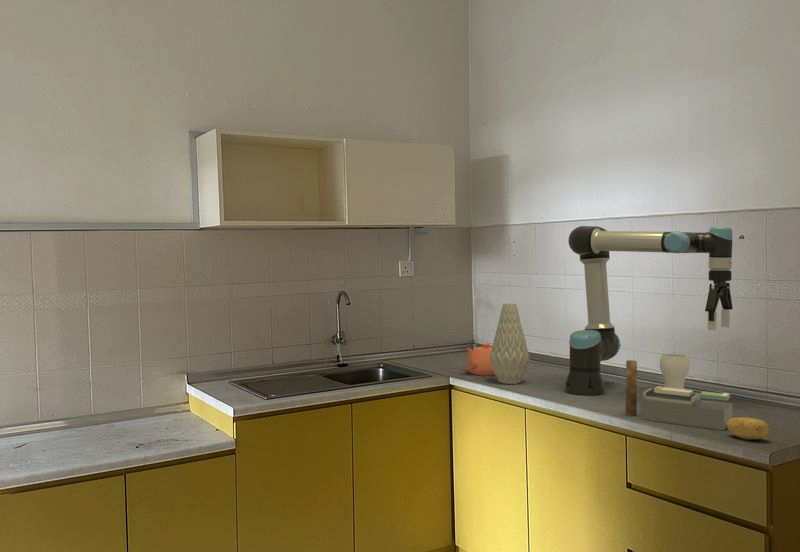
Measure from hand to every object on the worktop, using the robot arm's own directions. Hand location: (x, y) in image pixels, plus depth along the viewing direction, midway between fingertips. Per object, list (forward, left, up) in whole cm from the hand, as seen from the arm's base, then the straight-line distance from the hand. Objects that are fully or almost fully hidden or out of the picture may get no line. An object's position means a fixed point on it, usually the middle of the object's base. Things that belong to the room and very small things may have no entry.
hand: (718, 328), depth 255 cm
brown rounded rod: (-19, -38, -27) cm, 50 cm away
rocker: (-6, -36, -18) cm, 40 cm away
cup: (-16, +5, -27) cm, 32 cm away
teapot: (-98, +6, -27) cm, 102 cm away
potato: (+18, -49, -27) cm, 58 cm away
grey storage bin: (-2, -36, -27) cm, 45 cm away
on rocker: (+6, -36, -18) cm, 40 cm away
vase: (-79, -8, -27) cm, 84 cm away
